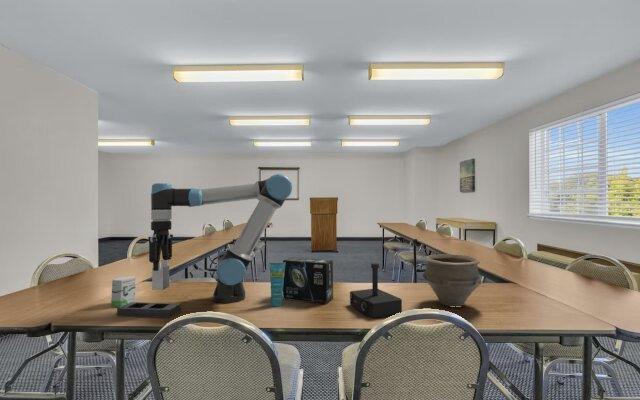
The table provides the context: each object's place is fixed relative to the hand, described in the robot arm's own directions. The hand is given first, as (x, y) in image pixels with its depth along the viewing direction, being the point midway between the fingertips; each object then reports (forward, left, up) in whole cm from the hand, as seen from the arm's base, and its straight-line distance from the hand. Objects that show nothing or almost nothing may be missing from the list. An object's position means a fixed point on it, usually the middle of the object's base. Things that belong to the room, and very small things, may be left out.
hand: (160, 276), depth 122 cm
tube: (-46, -15, -15) cm, 50 cm away
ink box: (+23, -10, -15) cm, 30 cm away
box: (-59, -26, -15) cm, 66 cm away
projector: (-89, -13, -15) cm, 91 cm away
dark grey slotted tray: (+4, 0, -15) cm, 16 cm away
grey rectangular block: (0, 0, -5) cm, 5 cm away
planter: (-126, -22, -15) cm, 128 cm away
